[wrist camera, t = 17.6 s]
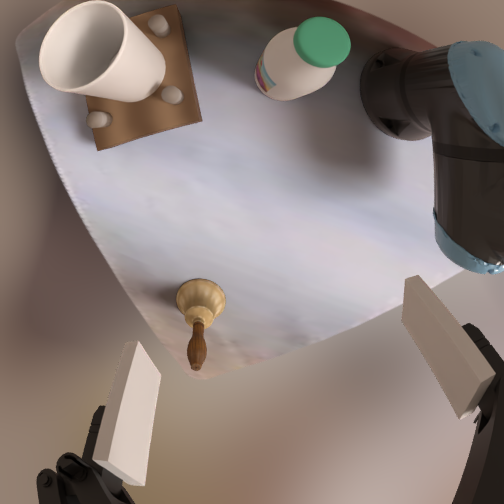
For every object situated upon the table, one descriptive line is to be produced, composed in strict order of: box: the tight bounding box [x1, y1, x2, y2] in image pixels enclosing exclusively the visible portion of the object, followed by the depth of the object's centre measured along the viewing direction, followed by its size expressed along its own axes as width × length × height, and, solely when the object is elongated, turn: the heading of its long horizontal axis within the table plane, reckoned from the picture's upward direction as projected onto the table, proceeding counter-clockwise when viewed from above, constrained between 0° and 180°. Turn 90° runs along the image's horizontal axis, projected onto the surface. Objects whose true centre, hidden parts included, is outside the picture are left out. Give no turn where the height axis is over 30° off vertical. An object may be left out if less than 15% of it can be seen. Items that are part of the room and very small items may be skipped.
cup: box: [39, 0, 166, 102], centre depth 23 cm, size 8×8×16 cm
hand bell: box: [176, 279, 226, 371], centre depth 43 cm, size 8×8×16 cm
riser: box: [86, 4, 202, 151], centre depth 31 cm, size 14×17×9 cm
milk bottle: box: [255, 17, 351, 101], centre depth 28 cm, size 8×8×20 cm
